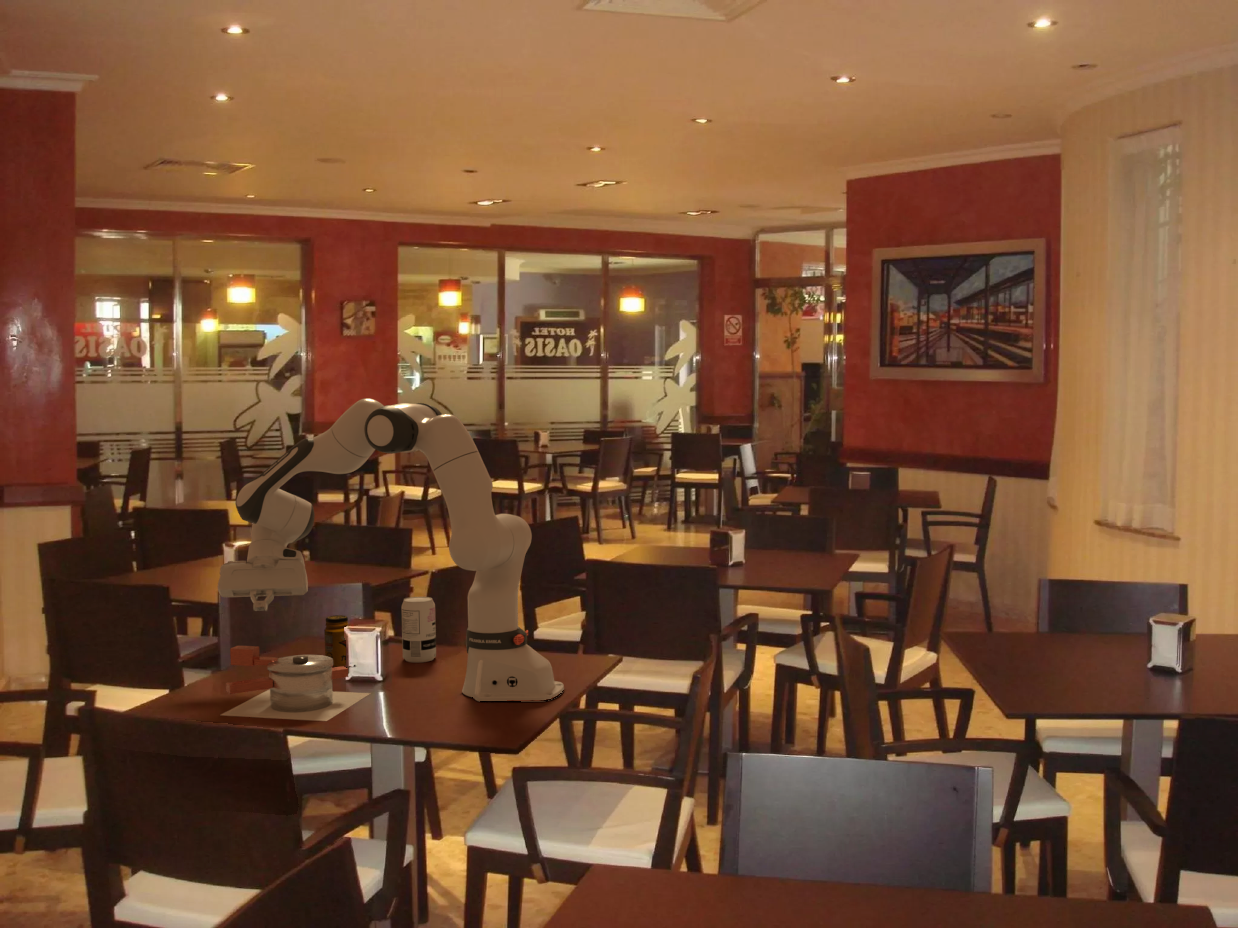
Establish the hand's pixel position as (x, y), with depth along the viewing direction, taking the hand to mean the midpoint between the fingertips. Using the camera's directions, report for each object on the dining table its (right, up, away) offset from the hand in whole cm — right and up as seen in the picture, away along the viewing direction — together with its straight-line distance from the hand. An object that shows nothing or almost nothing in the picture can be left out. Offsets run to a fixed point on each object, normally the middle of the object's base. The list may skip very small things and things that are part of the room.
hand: (260, 609), depth 293 cm
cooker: (+12, -18, -21) cm, 30 cm away
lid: (+10, -10, -19) cm, 24 cm away
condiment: (+13, -16, +17) cm, 27 cm away
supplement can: (+33, -15, +22) cm, 43 cm away
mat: (+13, -19, -19) cm, 30 cm away
